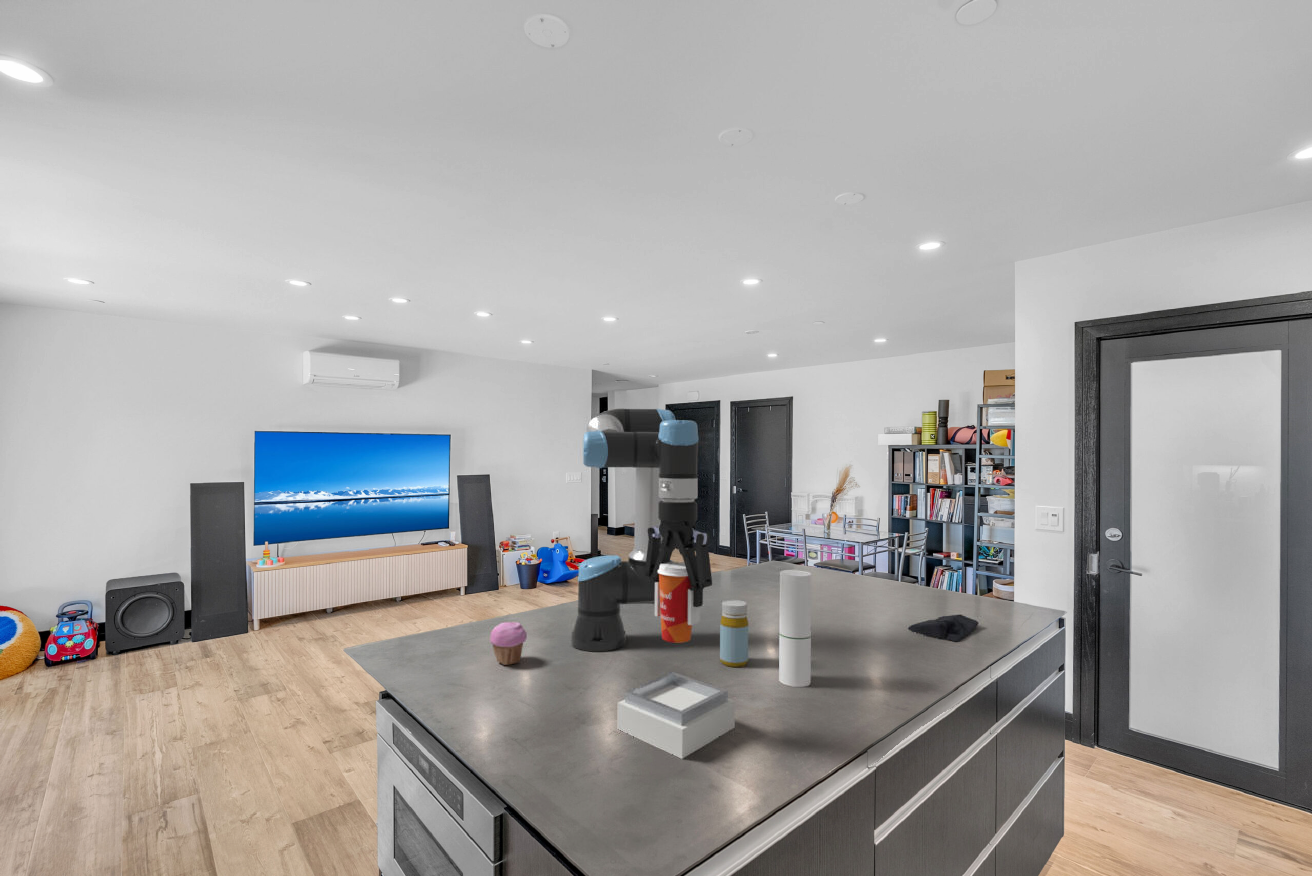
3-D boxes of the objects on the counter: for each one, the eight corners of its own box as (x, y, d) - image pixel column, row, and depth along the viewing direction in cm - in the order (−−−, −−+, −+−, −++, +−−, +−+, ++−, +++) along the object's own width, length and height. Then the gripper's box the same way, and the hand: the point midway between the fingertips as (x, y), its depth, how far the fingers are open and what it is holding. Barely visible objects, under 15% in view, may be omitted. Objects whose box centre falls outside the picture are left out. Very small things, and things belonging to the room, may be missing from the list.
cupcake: (532, 662, 148) (533, 622, 148) (502, 671, 141) (503, 629, 141) (512, 654, 154) (513, 615, 154) (482, 662, 147) (483, 622, 147)
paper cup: (654, 631, 117) (655, 561, 118) (693, 631, 118) (694, 561, 118) (658, 645, 110) (659, 569, 110) (699, 644, 110) (700, 569, 110)
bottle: (747, 668, 145) (747, 607, 145) (718, 666, 146) (719, 605, 147) (748, 659, 152) (749, 600, 152) (721, 656, 153) (721, 598, 153)
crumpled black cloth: (988, 630, 180) (988, 615, 180) (955, 645, 166) (955, 628, 166) (937, 619, 192) (937, 604, 192) (903, 631, 178) (903, 615, 178)
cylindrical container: (811, 677, 140) (812, 571, 140) (809, 688, 133) (810, 577, 134) (781, 673, 142) (781, 568, 143) (777, 684, 135) (778, 574, 136)
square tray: (617, 728, 113) (617, 691, 113) (671, 702, 125) (671, 669, 125) (682, 758, 102) (682, 717, 102) (734, 727, 114) (735, 690, 114)
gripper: (626, 497, 118) (625, 612, 118) (708, 504, 105) (707, 634, 104) (651, 496, 124) (650, 605, 123) (733, 502, 110) (732, 625, 110)
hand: (676, 618), depth 114 cm, fingers closed on paper cup, 8 cm apart
